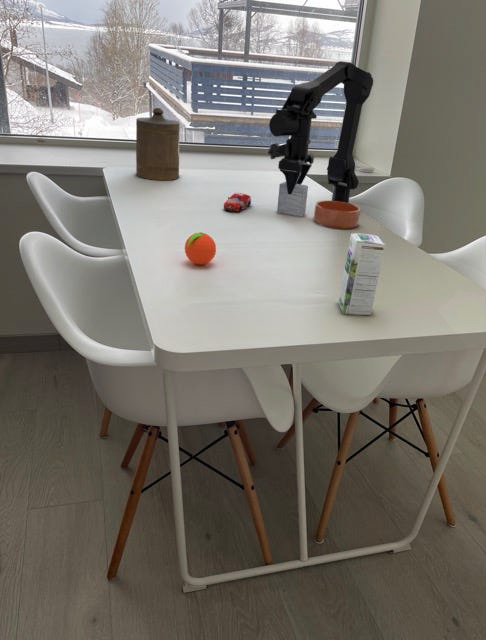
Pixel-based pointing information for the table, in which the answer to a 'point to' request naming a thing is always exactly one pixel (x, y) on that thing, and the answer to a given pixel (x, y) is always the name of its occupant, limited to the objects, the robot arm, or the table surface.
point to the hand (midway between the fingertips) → (293, 191)
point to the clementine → (200, 248)
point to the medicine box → (292, 200)
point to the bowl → (336, 214)
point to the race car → (237, 202)
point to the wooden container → (157, 147)
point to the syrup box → (361, 274)
